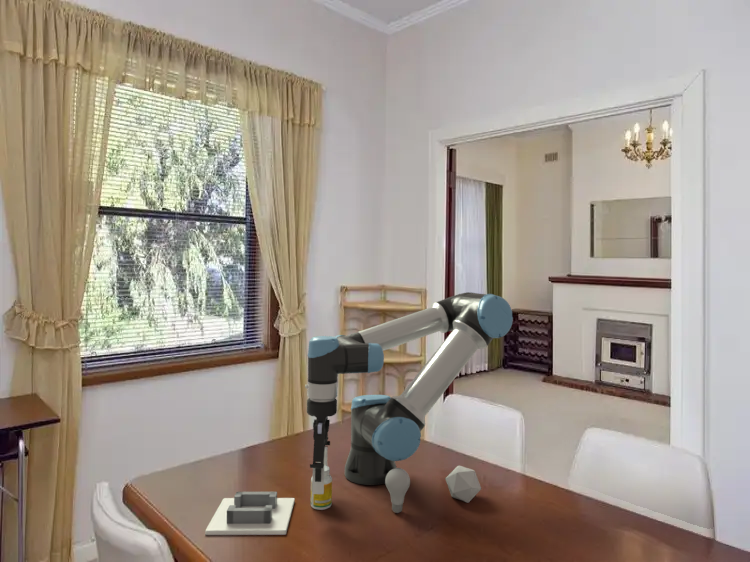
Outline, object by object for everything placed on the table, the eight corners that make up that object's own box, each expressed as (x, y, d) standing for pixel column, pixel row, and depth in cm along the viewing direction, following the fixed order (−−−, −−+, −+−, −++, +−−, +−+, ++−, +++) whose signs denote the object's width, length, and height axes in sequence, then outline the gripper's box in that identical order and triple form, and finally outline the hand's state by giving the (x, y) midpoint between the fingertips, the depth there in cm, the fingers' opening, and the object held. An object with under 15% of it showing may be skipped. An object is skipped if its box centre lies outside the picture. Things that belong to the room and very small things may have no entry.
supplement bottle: (306, 504, 130) (306, 467, 130) (324, 498, 134) (324, 462, 134) (318, 512, 126) (318, 474, 126) (336, 506, 130) (336, 468, 129)
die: (486, 501, 135) (476, 464, 140) (480, 496, 128) (469, 458, 134) (456, 508, 137) (447, 471, 142) (449, 504, 130) (439, 466, 135)
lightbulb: (392, 521, 123) (393, 475, 122) (380, 510, 128) (381, 466, 128) (414, 515, 125) (415, 471, 125) (401, 505, 131) (402, 462, 130)
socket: (294, 501, 132) (294, 486, 132) (285, 534, 116) (285, 517, 116) (223, 501, 131) (223, 486, 131) (205, 534, 115) (205, 517, 115)
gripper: (311, 386, 141) (309, 462, 142) (301, 411, 117) (299, 504, 117) (338, 386, 142) (336, 462, 142) (334, 412, 117) (332, 504, 117)
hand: (320, 481), depth 130 cm, fingers open, 13 cm apart
